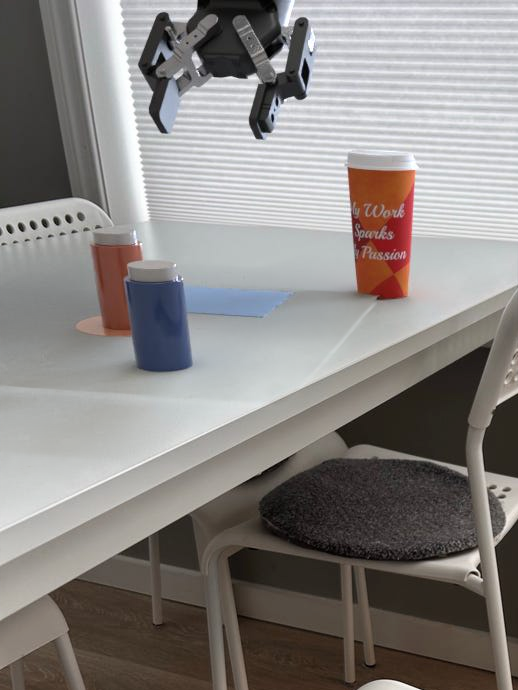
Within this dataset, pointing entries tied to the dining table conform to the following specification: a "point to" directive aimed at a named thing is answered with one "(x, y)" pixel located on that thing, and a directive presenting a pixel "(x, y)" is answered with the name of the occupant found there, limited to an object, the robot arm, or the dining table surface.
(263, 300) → the blue mat
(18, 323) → the dining table surface
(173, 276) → the blue shaker
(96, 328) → the terracotta coaster
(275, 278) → the dining table surface
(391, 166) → the paper cup
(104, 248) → the red shaker
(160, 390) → the dining table surface
